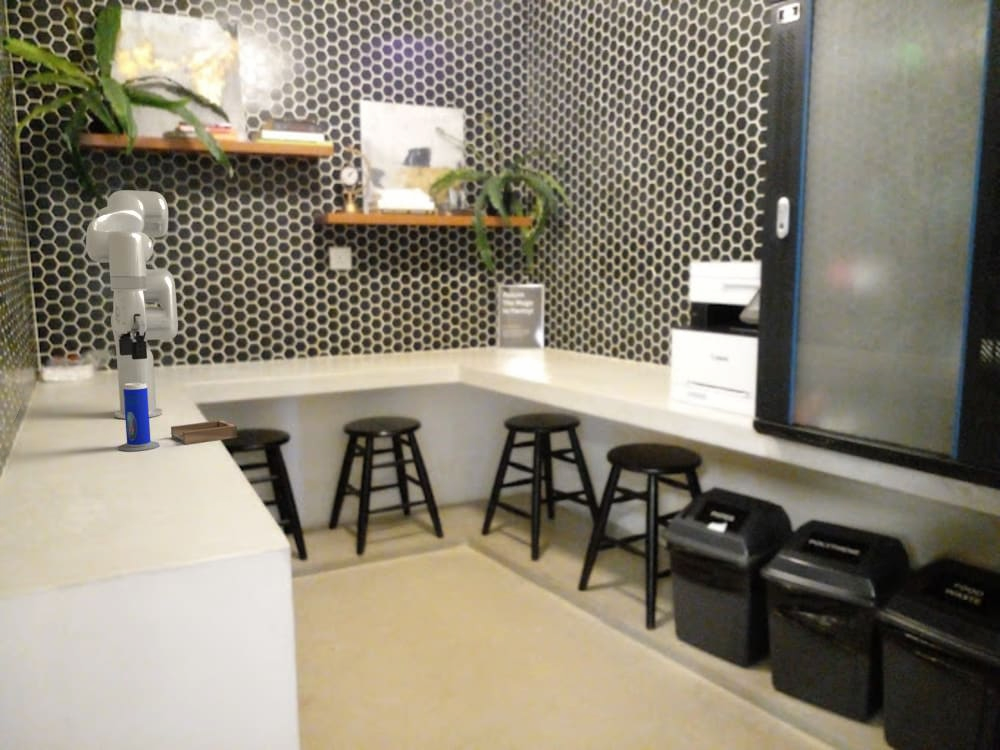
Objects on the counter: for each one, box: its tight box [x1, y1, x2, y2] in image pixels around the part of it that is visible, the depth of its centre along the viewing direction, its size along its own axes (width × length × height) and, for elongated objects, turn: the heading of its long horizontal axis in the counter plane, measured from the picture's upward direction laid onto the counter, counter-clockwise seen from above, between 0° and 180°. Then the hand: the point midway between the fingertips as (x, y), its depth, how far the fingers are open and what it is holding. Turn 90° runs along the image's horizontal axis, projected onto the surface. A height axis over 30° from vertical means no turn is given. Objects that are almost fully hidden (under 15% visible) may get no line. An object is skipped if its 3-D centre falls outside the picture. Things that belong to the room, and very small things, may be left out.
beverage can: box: [123, 383, 152, 447], centre depth 180 cm, size 5×5×15 cm
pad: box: [117, 440, 160, 453], centre depth 181 cm, size 9×9×1 cm
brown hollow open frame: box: [170, 419, 238, 446], centre depth 191 cm, size 10×13×3 cm
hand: (133, 357), depth 178 cm, fingers open, 9 cm apart
